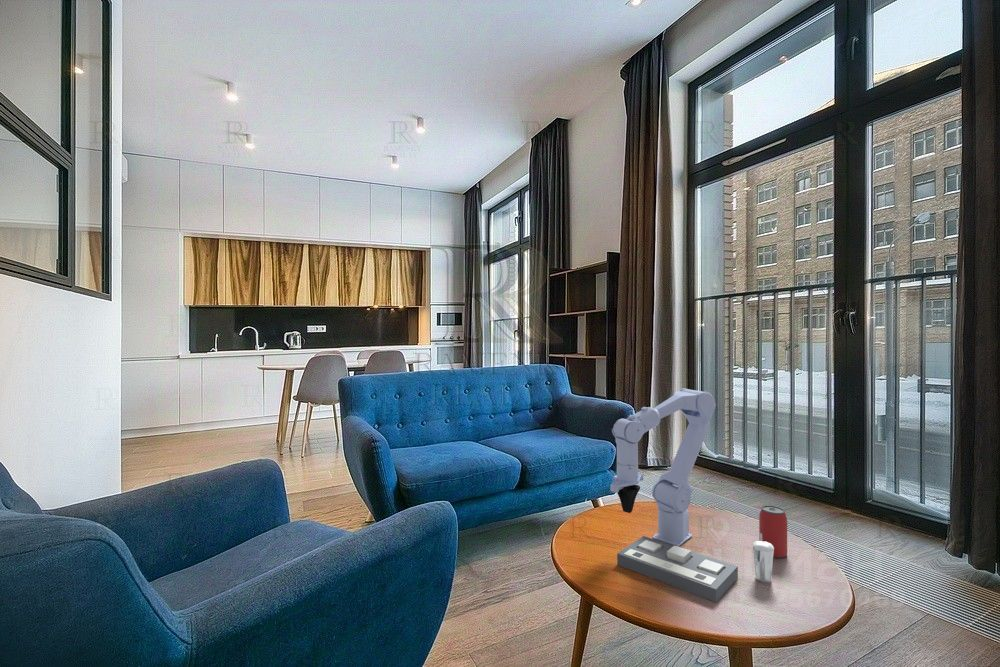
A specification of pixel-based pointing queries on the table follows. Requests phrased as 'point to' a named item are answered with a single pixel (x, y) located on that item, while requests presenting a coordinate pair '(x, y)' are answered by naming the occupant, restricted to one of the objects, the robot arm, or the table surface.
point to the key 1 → (650, 546)
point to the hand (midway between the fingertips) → (627, 511)
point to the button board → (678, 570)
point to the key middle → (679, 554)
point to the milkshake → (763, 560)
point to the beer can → (774, 529)
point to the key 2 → (711, 567)
